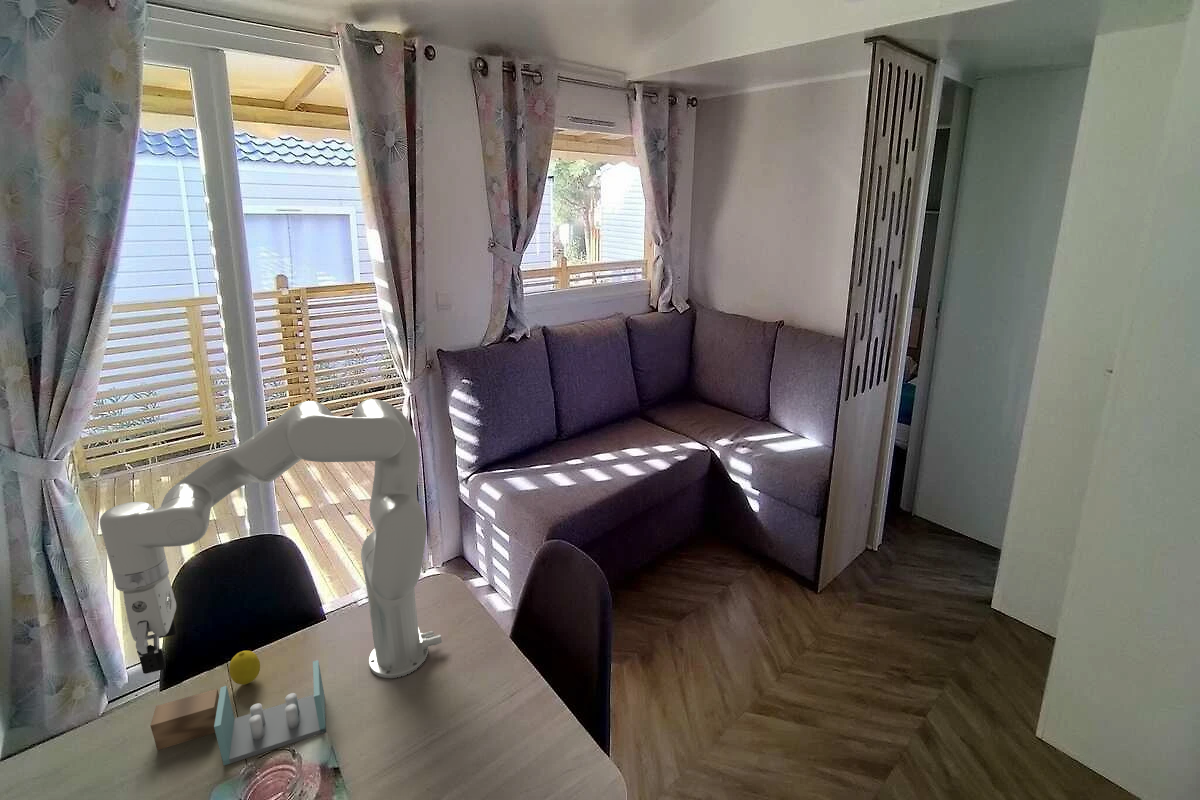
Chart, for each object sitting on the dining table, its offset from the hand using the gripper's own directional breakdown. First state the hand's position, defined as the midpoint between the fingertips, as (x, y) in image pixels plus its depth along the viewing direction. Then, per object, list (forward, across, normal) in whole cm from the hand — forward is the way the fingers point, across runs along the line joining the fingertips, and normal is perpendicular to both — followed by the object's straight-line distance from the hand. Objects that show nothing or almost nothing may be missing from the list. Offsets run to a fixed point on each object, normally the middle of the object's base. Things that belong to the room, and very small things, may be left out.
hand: (160, 652), depth 109 cm
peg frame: (+18, -7, -17) cm, 26 cm away
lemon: (+19, +9, -11) cm, 23 cm away
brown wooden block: (+19, 0, -2) cm, 19 cm away
